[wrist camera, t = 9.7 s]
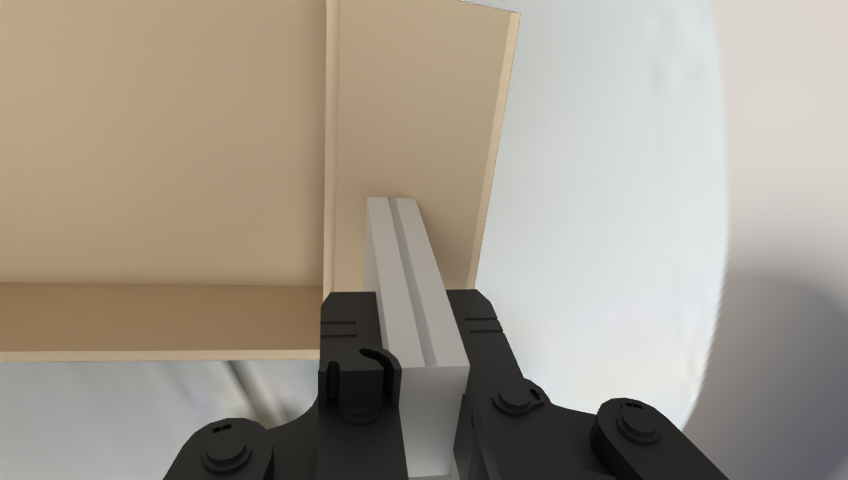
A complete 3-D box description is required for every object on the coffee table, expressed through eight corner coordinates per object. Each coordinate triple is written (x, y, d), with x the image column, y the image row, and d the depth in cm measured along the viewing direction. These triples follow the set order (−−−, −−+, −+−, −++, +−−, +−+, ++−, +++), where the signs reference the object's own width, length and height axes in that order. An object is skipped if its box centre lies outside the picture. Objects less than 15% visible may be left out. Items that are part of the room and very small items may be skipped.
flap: (438, 461, 17) (445, 457, 17) (511, 12, 11) (520, 12, 11) (332, 355, 21) (339, 352, 21) (341, -23, 15) (350, -22, 15)
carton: (-34, 285, 24) (-119, 363, 20) (-184, -125, 17) (-369, -145, 12) (336, 289, 26) (335, 359, 22) (345, -66, 19) (345, -65, 15)
